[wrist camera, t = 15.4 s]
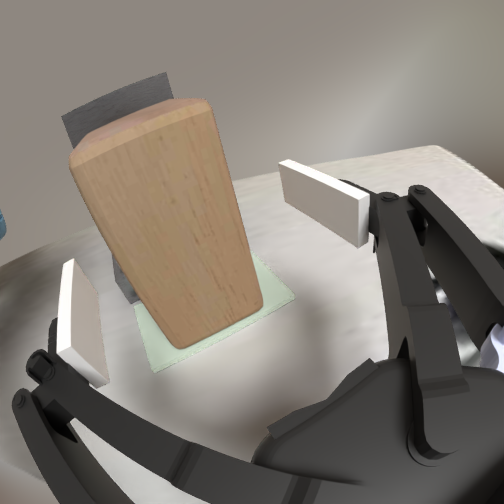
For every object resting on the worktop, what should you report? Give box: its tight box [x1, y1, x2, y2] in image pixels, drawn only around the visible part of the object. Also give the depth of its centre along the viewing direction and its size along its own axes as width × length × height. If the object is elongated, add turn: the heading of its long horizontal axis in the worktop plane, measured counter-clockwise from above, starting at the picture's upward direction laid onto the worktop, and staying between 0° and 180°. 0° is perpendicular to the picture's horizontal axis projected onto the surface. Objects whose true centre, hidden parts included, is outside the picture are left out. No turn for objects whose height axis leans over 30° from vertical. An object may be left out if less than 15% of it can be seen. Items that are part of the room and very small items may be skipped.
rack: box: [62, 72, 174, 304], centre depth 35 cm, size 17×17×24 cm
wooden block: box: [69, 98, 263, 349], centre depth 24 cm, size 10×10×20 cm
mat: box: [134, 250, 295, 373], centre depth 30 cm, size 16×10×1 cm, turn 119°
